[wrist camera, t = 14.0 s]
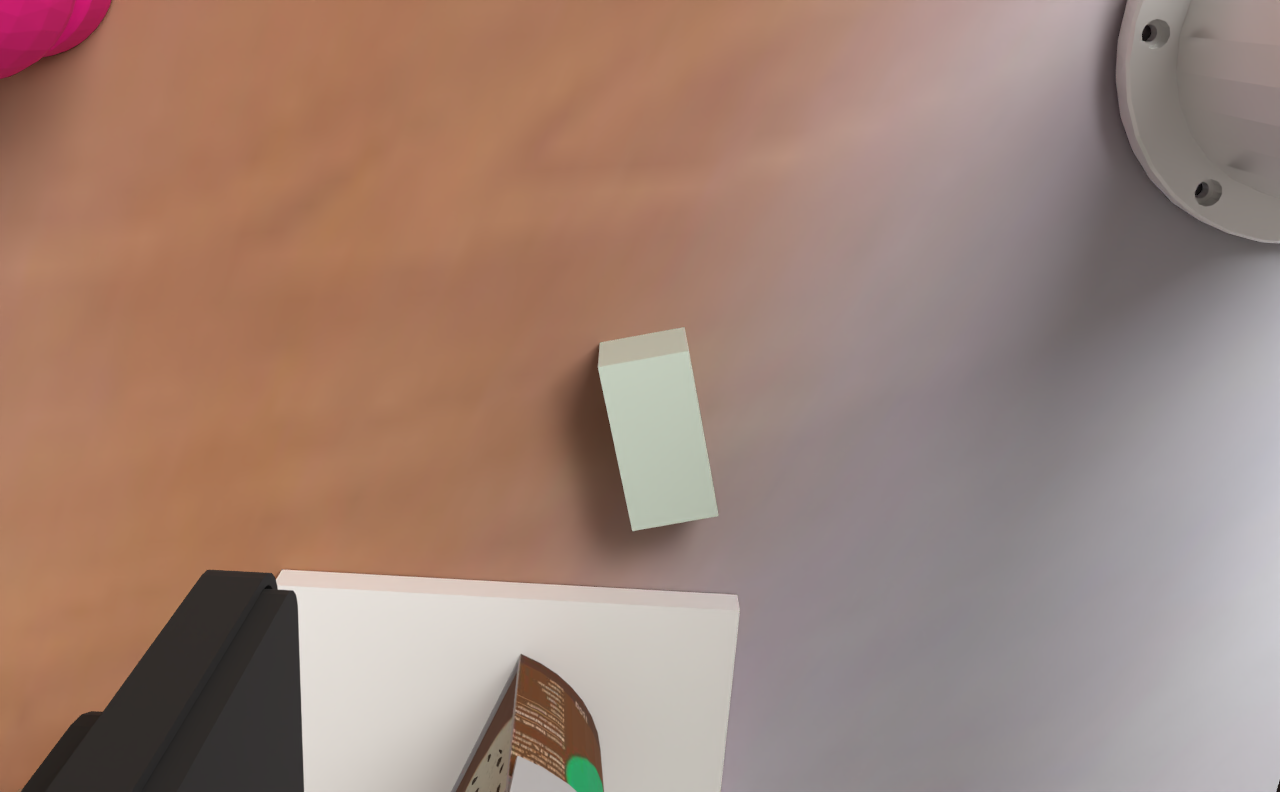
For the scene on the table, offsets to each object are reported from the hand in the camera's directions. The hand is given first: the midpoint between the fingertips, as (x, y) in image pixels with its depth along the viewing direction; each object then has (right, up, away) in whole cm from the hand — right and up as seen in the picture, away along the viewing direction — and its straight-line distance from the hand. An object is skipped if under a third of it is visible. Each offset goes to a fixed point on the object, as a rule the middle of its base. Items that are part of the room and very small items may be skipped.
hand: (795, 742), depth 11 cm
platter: (-7, -11, +36) cm, 38 cm away
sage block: (-1, +3, +31) cm, 32 cm away
